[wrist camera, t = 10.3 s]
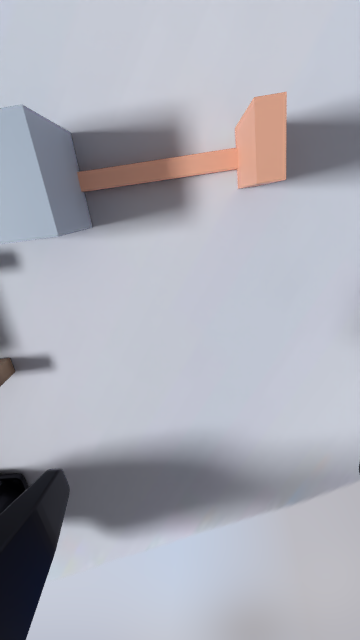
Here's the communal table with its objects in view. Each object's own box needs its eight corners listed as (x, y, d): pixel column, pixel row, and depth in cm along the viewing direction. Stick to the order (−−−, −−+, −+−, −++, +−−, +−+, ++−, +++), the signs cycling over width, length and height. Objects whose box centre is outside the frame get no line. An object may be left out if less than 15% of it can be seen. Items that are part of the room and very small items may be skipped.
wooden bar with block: (259, 204, 17) (285, 205, 12) (15, 237, 18) (-45, 250, 14) (257, 102, 15) (286, 58, 11) (-15, 146, 16) (-96, 125, 12)
